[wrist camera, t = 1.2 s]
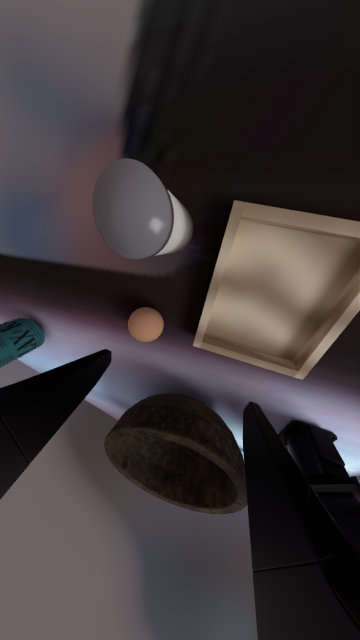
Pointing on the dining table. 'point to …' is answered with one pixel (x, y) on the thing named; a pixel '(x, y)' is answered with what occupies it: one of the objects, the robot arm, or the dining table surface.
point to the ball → (145, 324)
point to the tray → (281, 288)
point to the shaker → (139, 212)
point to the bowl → (180, 454)
